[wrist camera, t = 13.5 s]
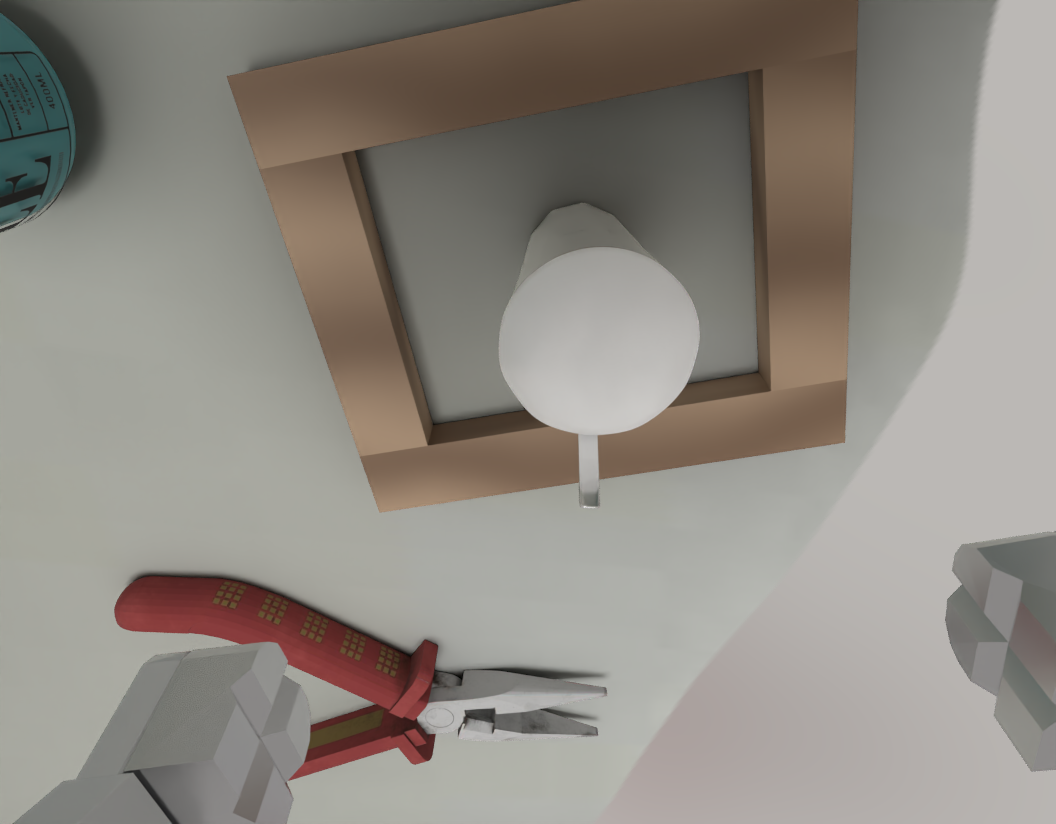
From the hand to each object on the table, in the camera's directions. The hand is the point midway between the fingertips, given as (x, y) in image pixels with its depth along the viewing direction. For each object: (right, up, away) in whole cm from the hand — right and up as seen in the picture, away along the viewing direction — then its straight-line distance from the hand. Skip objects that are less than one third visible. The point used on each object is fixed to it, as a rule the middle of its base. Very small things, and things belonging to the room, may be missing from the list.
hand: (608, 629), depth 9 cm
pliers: (-9, -11, +26) cm, 29 cm away
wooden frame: (0, +7, +15) cm, 17 cm away
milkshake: (+1, +8, +15) cm, 17 cm away
